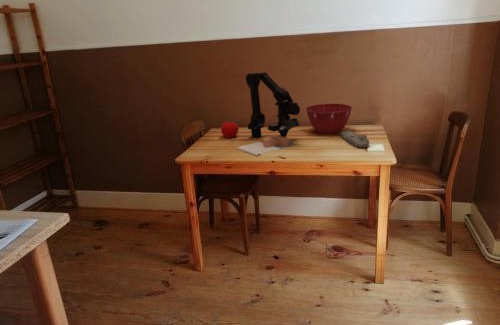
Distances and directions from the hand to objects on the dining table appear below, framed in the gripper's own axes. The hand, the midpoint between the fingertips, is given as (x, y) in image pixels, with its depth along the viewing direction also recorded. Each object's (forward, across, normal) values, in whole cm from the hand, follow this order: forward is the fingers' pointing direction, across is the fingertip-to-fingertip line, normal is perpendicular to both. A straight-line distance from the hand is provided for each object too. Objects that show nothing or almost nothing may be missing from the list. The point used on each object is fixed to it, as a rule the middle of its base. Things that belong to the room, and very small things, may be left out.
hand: (284, 140), depth 223 cm
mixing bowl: (+3, +38, +3) cm, 38 cm away
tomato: (+2, -13, +38) cm, 40 cm away
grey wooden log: (+3, +32, -23) cm, 40 cm away
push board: (+2, -11, +1) cm, 11 cm away
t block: (+1, -8, 0) cm, 8 cm away
